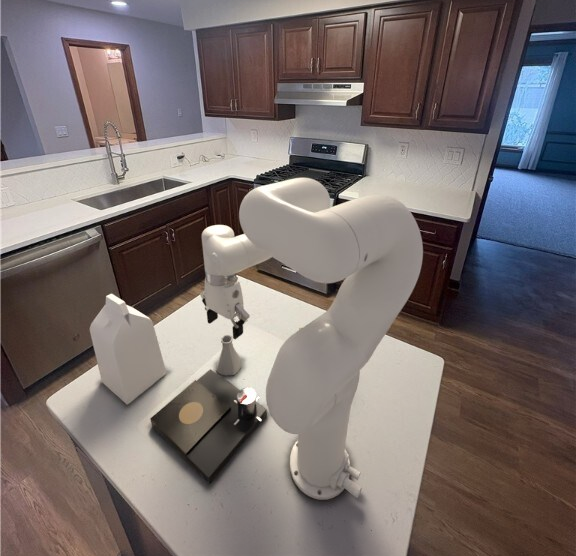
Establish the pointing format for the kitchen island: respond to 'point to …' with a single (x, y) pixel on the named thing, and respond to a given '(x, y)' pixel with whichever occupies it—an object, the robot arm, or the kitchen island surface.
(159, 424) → the burner
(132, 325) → the milk
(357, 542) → the kitchen island surface
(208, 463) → the hob
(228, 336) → the flask
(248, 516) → the kitchen island surface
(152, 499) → the kitchen island surface
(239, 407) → the hob knob
